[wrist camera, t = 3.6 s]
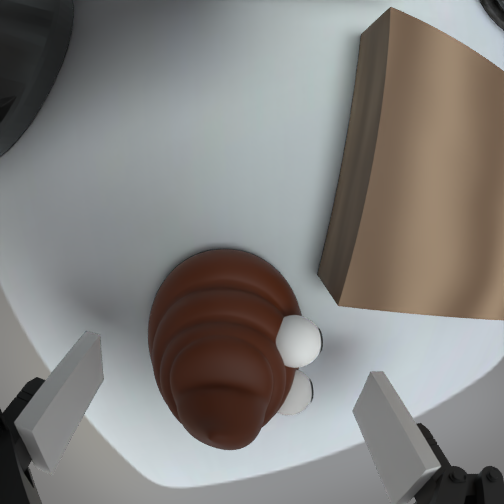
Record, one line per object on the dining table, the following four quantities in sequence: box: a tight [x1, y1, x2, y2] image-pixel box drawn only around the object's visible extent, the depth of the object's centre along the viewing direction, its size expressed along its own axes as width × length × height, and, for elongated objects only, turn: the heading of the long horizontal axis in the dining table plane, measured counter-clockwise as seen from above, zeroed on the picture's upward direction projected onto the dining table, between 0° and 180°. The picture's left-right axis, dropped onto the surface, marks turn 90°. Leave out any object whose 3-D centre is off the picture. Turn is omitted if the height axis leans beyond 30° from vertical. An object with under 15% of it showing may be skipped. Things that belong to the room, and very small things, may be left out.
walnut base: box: [317, 7, 504, 320], centre depth 14 cm, size 14×14×4 cm
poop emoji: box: [148, 249, 323, 450], centre depth 13 cm, size 10×8×9 cm
